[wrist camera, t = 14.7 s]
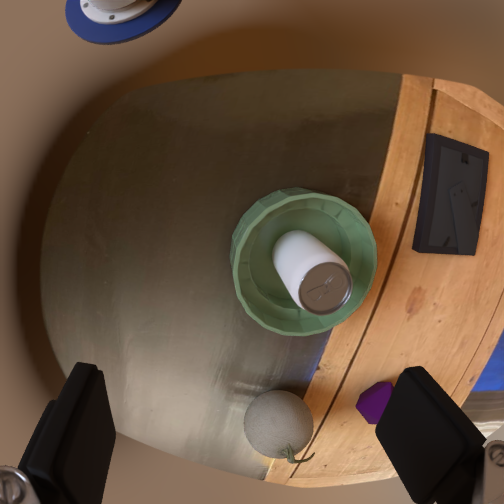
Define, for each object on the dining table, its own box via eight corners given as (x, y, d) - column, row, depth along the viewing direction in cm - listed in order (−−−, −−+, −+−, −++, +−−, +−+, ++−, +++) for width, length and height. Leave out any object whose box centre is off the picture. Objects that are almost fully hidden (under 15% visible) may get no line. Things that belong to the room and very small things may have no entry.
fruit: (279, 429, 52) (297, 493, 37) (228, 407, 48) (236, 478, 34) (318, 393, 50) (347, 457, 36) (268, 367, 47) (288, 439, 33)
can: (326, 260, 42) (365, 297, 31) (285, 285, 42) (311, 331, 31) (305, 219, 40) (341, 244, 29) (261, 245, 40) (282, 281, 29)
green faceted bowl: (219, 199, 39) (221, 207, 32) (348, 179, 40) (373, 185, 33) (241, 320, 44) (247, 348, 37) (355, 296, 45) (376, 318, 38)
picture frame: (467, 252, 46) (481, 151, 41) (475, 256, 44) (490, 152, 39) (411, 249, 44) (426, 133, 39) (419, 253, 42) (435, 132, 37)
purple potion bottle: (382, 371, 51) (432, 438, 34) (394, 391, 53) (439, 454, 36) (348, 395, 51) (389, 468, 34) (363, 413, 53) (401, 480, 36)
